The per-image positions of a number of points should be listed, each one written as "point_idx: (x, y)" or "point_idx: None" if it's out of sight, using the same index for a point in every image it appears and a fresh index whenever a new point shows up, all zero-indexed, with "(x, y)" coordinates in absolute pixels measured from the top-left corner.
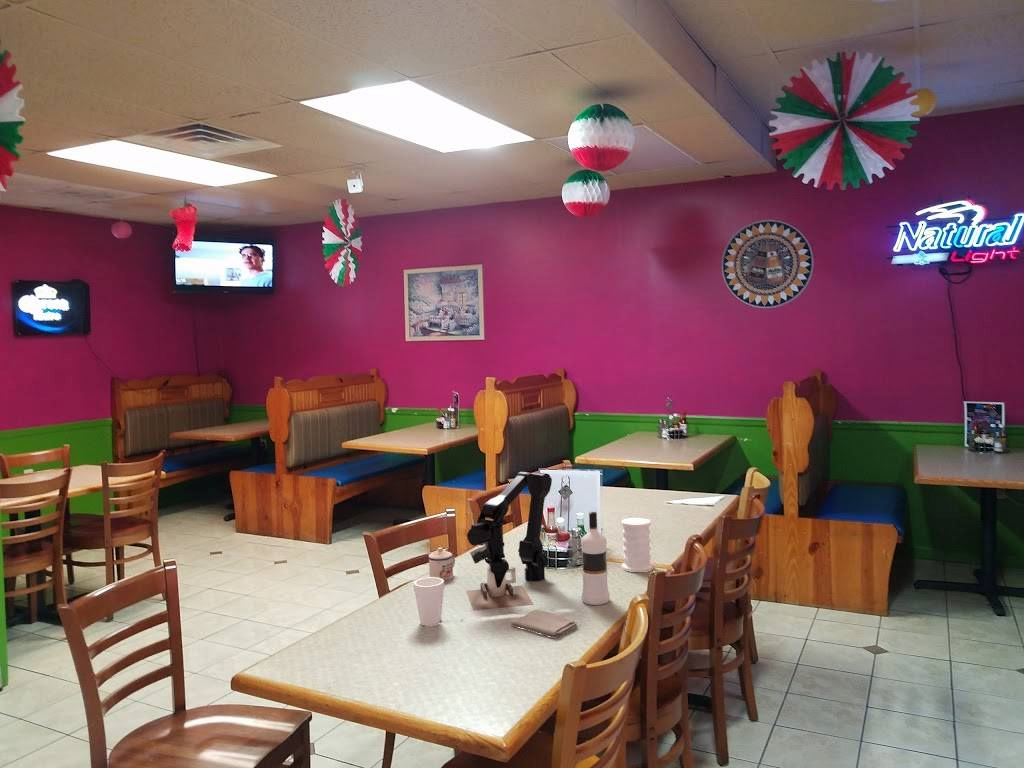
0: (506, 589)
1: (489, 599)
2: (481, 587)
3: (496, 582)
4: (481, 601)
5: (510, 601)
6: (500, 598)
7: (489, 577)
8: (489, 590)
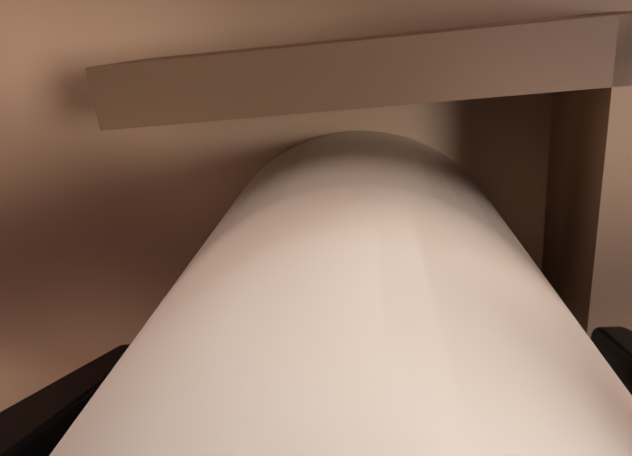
0: None
1: (107, 142)
2: (490, 26)
3: (22, 413)
4: (20, 4)
5: (27, 392)
6: (142, 295)
7: (157, 323)
8: (262, 180)
